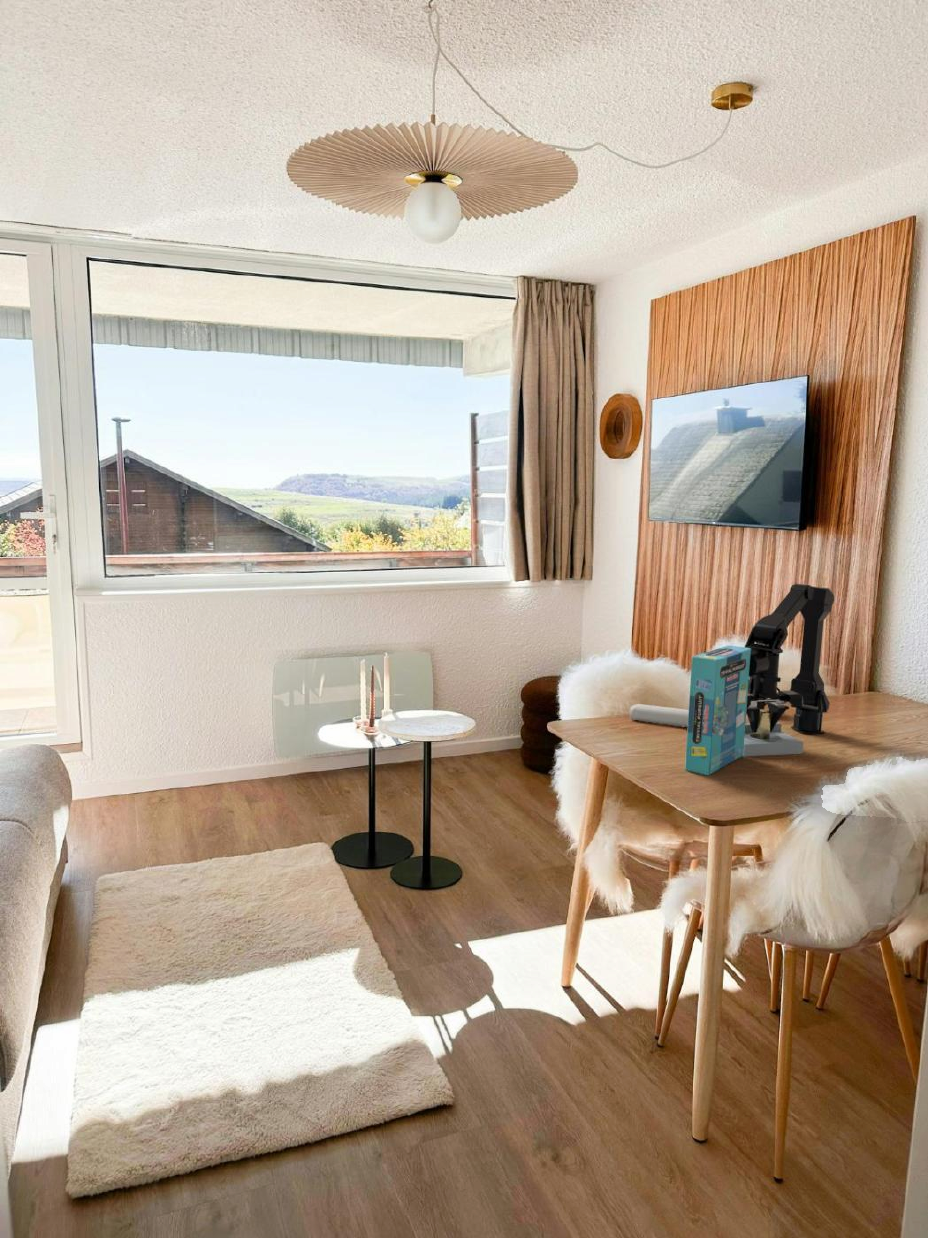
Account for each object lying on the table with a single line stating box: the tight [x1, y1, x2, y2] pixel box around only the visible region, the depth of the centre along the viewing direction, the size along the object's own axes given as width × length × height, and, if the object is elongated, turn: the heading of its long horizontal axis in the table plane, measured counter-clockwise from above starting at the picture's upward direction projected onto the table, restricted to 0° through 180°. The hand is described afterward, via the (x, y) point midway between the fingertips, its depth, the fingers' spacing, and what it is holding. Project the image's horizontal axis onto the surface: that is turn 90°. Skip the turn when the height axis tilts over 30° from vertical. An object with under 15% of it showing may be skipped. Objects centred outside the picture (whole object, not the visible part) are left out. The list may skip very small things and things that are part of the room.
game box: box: [684, 645, 751, 776], centre depth 205 cm, size 20×6×27 cm, turn 141°
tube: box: [629, 703, 689, 728], centre depth 241 cm, size 5×5×25 cm
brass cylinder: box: [753, 709, 771, 740], centre depth 220 cm, size 4×4×8 cm
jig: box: [742, 721, 804, 757], centre depth 220 cm, size 16×12×5 cm
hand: (761, 732), depth 220 cm, fingers closed on brass cylinder, 4 cm apart
